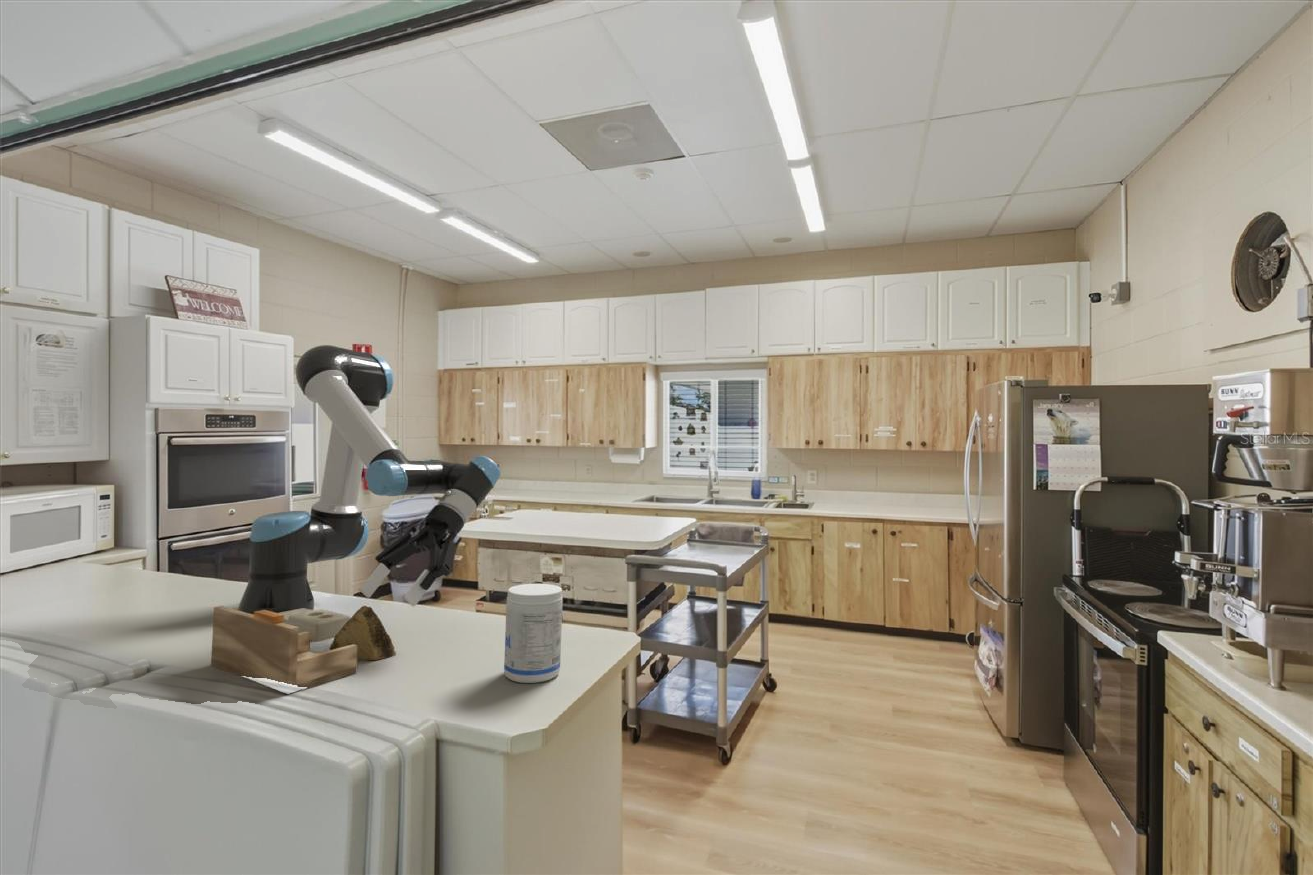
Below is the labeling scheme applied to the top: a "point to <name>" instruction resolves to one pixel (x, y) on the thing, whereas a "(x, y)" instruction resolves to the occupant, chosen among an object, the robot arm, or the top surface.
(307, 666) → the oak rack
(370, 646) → the rock
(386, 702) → the top surface
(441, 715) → the top surface
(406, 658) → the top surface
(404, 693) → the top surface
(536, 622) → the supplement tub
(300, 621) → the grey cinder block
